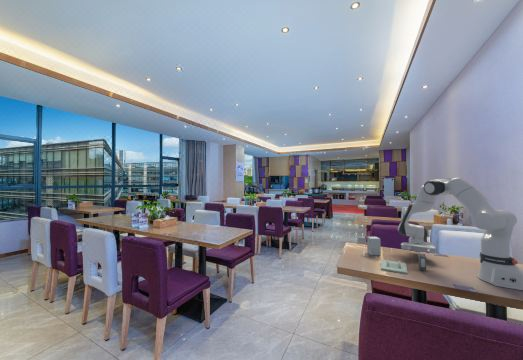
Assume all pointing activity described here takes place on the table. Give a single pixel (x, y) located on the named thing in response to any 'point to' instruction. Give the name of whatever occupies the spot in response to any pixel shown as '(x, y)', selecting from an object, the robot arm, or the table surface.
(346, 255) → the table surface
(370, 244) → the supplement box
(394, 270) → the pin tray
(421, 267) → the drive
